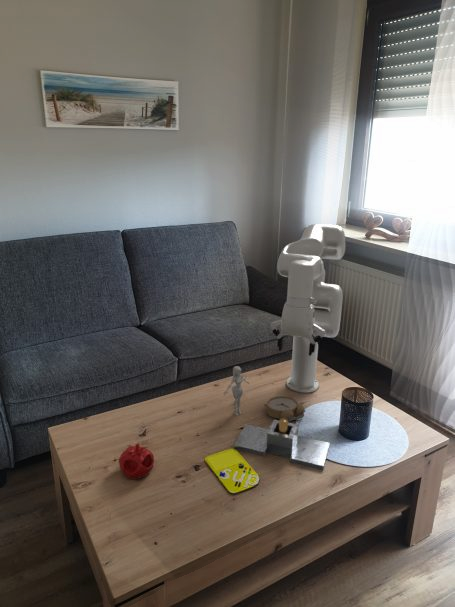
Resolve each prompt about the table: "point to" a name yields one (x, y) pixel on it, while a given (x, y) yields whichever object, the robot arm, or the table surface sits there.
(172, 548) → the table surface
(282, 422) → the hinge pin
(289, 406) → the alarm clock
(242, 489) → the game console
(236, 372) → the human figurine
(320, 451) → the hinge frame
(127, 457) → the pomegranate
